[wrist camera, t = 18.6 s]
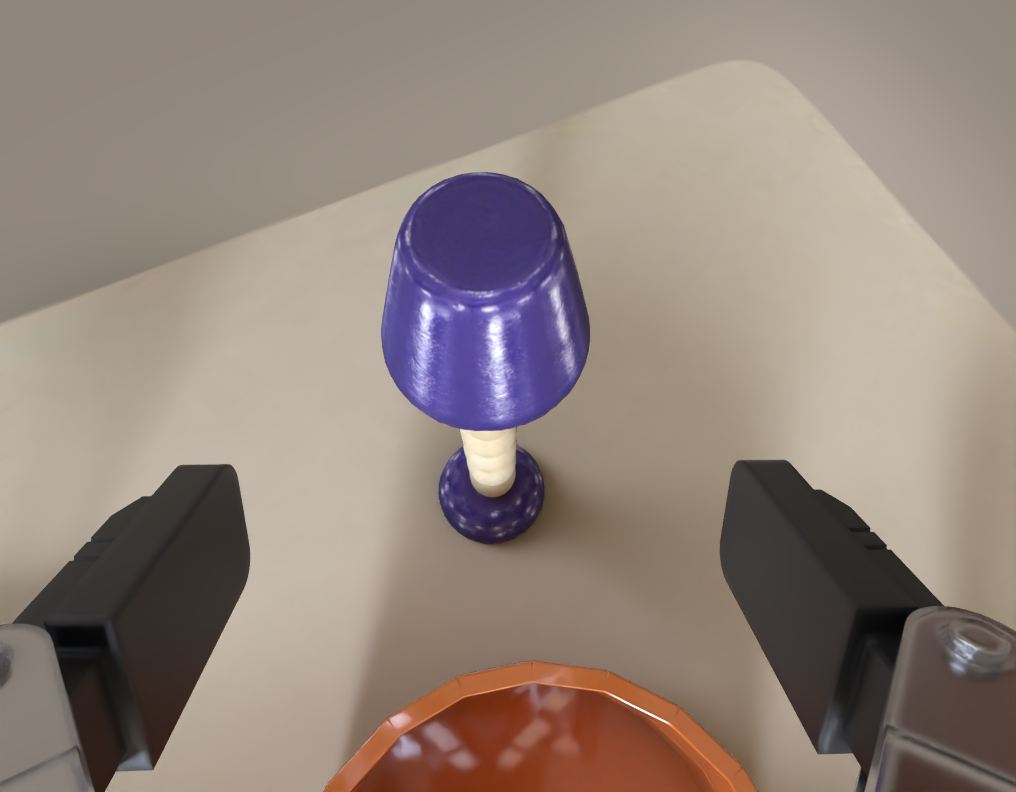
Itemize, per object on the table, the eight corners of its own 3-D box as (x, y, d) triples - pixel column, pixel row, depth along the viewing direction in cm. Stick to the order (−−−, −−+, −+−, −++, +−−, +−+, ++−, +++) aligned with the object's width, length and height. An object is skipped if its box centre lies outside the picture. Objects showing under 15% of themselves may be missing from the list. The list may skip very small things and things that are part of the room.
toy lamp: (407, 507, 26) (296, 282, 11) (462, 410, 28) (434, 96, 13) (515, 563, 26) (559, 406, 10) (565, 460, 27) (668, 192, 12)
